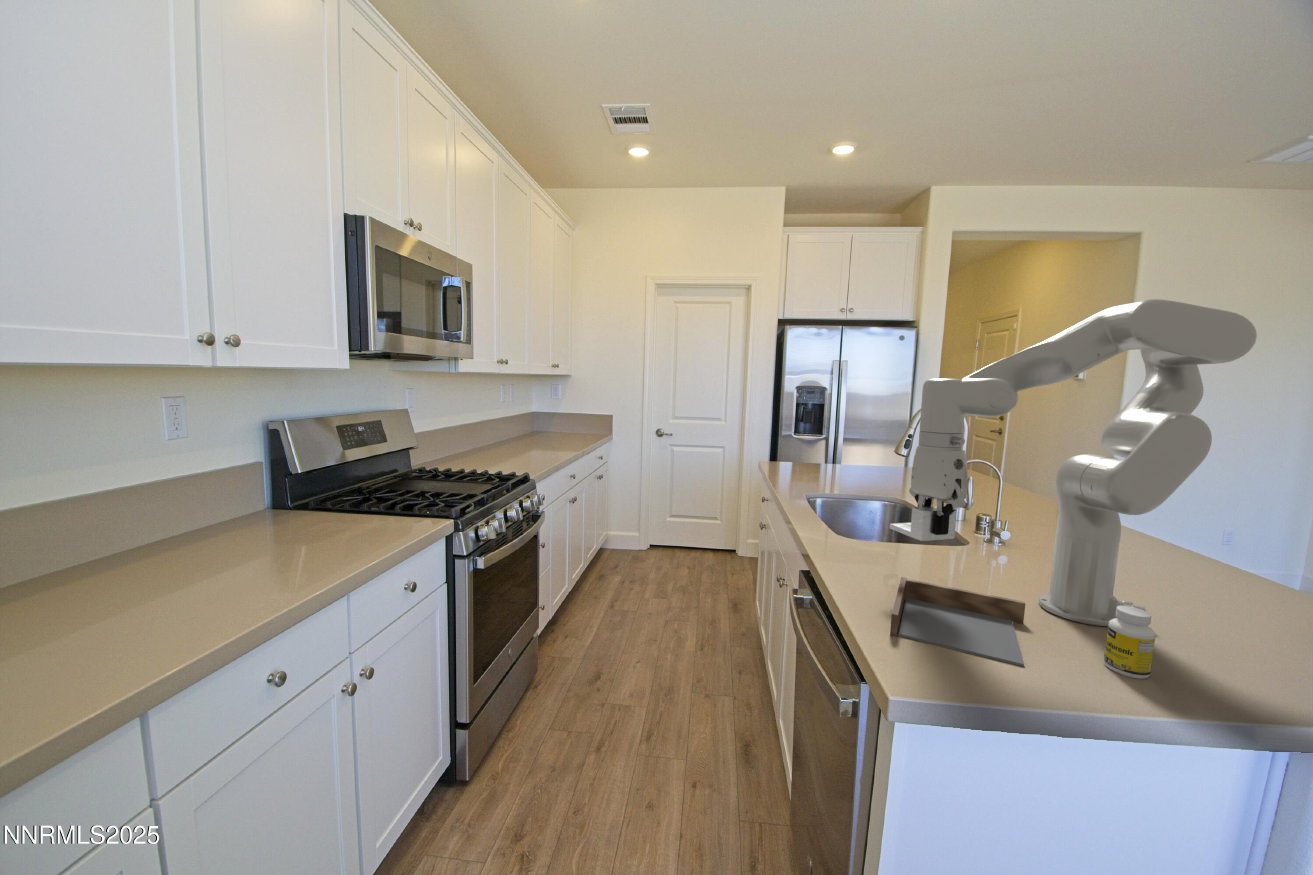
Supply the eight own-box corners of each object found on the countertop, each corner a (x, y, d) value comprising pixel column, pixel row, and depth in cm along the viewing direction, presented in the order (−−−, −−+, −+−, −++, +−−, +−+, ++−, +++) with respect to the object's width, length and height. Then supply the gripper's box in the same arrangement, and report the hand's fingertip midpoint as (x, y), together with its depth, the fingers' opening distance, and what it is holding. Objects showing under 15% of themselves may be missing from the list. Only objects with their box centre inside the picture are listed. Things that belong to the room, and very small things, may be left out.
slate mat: (1011, 622, 95) (1012, 620, 95) (1023, 666, 80) (1024, 664, 80) (906, 599, 104) (906, 597, 104) (898, 635, 89) (898, 633, 89)
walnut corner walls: (1022, 620, 96) (1024, 600, 96) (1038, 672, 78) (1041, 648, 78) (899, 595, 106) (901, 576, 106) (889, 635, 89) (891, 613, 88)
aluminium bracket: (921, 540, 100) (923, 511, 99) (889, 528, 108) (891, 500, 108) (954, 538, 102) (956, 509, 101) (920, 526, 110) (922, 499, 110)
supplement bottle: (1094, 660, 82) (1101, 603, 81) (1124, 660, 83) (1132, 602, 82) (1127, 680, 77) (1135, 618, 76) (1160, 679, 77) (1168, 618, 76)
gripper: (992, 445, 93) (983, 542, 95) (924, 436, 109) (917, 520, 111) (959, 446, 91) (951, 545, 93) (894, 437, 107) (888, 521, 109)
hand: (933, 530), depth 102 cm, fingers closed on aluminium bracket, 3 cm apart
